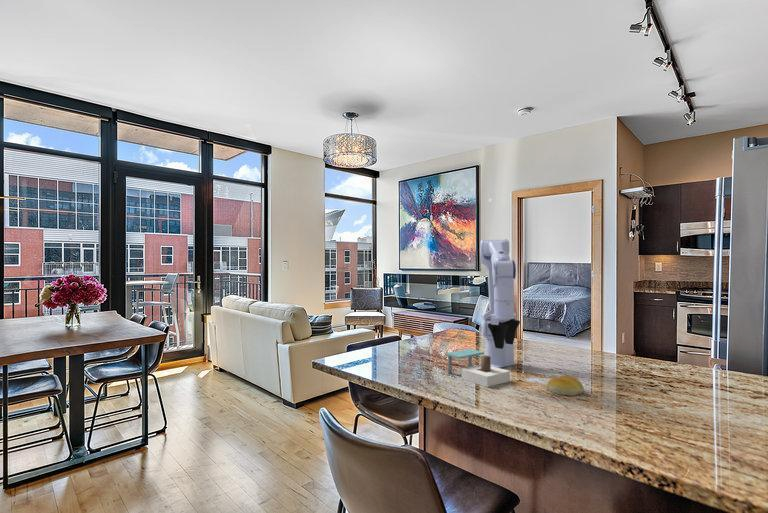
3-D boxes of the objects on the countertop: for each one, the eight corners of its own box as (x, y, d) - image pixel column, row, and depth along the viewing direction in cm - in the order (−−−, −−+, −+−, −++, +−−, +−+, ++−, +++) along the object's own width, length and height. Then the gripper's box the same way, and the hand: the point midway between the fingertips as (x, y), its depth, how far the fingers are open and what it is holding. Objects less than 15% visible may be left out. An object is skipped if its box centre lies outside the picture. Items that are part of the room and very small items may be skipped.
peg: (487, 378, 121) (487, 355, 121) (492, 380, 118) (492, 357, 118) (479, 379, 120) (479, 356, 120) (484, 381, 117) (484, 358, 117)
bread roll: (541, 389, 110) (541, 375, 110) (564, 385, 114) (564, 371, 114) (566, 399, 103) (566, 383, 103) (589, 393, 107) (589, 379, 107)
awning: (470, 368, 132) (470, 348, 132) (483, 372, 127) (483, 352, 127) (445, 373, 126) (445, 353, 126) (459, 377, 121) (459, 356, 121)
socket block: (484, 373, 126) (484, 363, 126) (510, 381, 118) (509, 371, 118) (461, 378, 120) (461, 368, 120) (487, 387, 112) (487, 376, 112)
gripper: (500, 298, 126) (501, 340, 126) (480, 301, 115) (481, 348, 115) (522, 299, 122) (523, 343, 122) (504, 303, 111) (504, 351, 110)
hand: (504, 346), depth 118 cm, fingers open, 7 cm apart
